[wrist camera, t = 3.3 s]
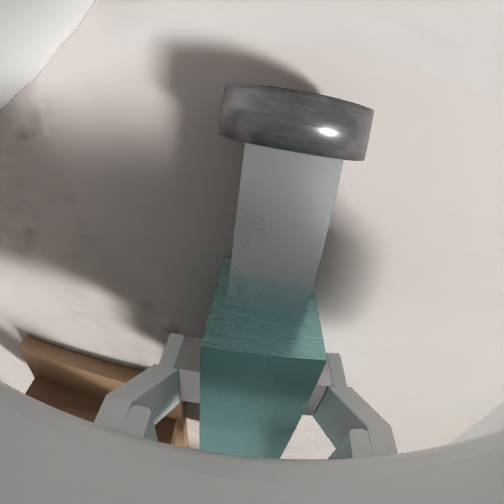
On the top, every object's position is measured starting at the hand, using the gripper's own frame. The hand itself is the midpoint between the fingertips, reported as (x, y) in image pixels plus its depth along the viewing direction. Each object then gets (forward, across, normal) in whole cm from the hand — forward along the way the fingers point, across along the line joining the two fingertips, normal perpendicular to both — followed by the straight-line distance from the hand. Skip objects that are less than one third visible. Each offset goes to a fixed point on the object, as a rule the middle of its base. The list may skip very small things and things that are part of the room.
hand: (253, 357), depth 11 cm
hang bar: (+2, 0, 0) cm, 2 cm away
